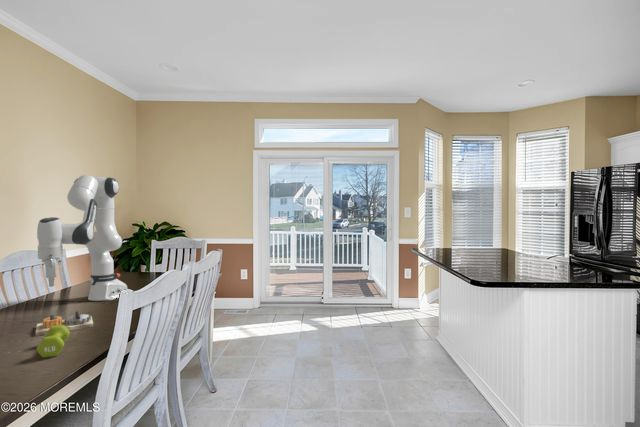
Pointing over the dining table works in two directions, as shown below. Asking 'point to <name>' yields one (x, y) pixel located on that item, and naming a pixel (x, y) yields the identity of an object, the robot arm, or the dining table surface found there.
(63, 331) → the dumbbell
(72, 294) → the dining table surface
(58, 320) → the orange gear
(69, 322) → the gear board
